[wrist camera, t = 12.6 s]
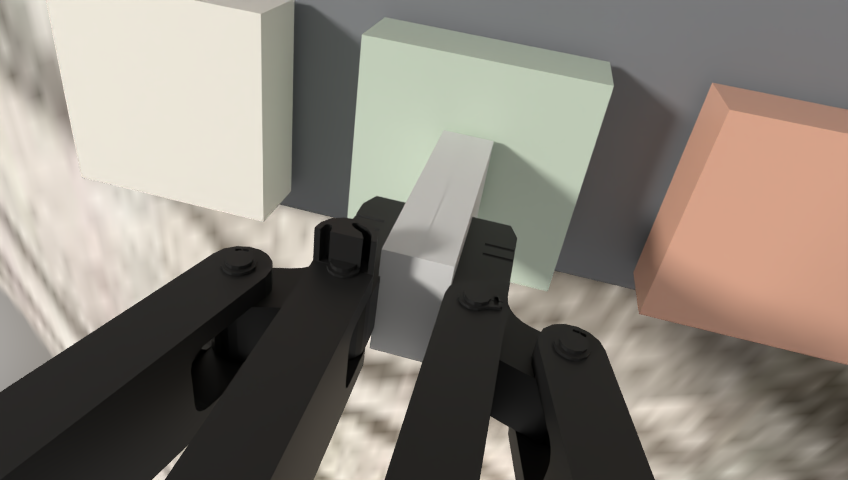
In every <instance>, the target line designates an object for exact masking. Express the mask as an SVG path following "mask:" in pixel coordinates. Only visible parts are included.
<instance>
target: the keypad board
mask: <svg viewBox="0 0 848 480" xmlns="http://www.w3.org/2000/svg"><path fill="white" fill-rule="evenodd" d="M385 17H387V18H392V19H397V20H402V21H407V22H412V23H417V24H422V25H427V26H432V27H437V28H442V29H447V30H452V31H457V32H462V33H467V34H472V35H477V36H482V37H487V38H492V39H497V40H502V41H507V42H512V43H517V44H522V45H527V46H532V47H537V48H542V49H547V50H552V51H557V52H562V53H567V54H572V55H577V56H582V57H587V58H592V59H597V60H602V61H607V62H610V66H611V72H612V77H613V83H614V87H613V90H612V94H611V97H610V100H609V103H608V106H607V109H606V112H605V115H604V118H603V121H602V124H601V128H600V131H599V134H598V137H597V140H596V143H595V146H594V149H593V152H592V155H591V159H590V162H589V165H588V168H587V171H586V174H585V177H584V180H583V183H582V186H581V189H580V193H579V196H578V199H577V202H576V205H575V208H574V211H573V214H572V217H571V220H570V224H569V227H568V230H567V233H566V236H565V239H564V242H563V245H562V248H561V251H560V254H559V258H558V261H557V264H556V267H555V271H559V272H563V273H567V274H572V275H576V276H580V277H584V278H588V279H592V280H597V281H601V282H605V283H609V284H613V285H617V286H622V287H626V288H630V289H634V290H636V288H635V281H634V274H633V272H634V270H635V267H636V265H637V262H638V260H639V258H640V255H641V253H642V250H643V248H644V246H645V243H646V241H647V238H648V236H649V234H650V231H651V229H652V226H653V224H654V222H655V219H656V217H657V214H658V212H659V210H660V207H661V205H662V202H663V200H664V197H665V195H666V193H667V190H668V188H669V185H670V183H671V181H672V178H673V176H674V173H675V171H676V169H677V166H678V164H679V161H680V159H681V157H682V154H683V152H684V149H685V147H686V145H687V142H688V140H689V137H690V135H691V133H692V130H693V128H694V125H695V123H696V120H697V118H698V116H699V113H700V111H701V108H702V106H703V104H704V101H705V99H706V96H707V94H708V92H709V89H710V87H711V84H712V83H717V84H722V85H727V86H732V87H737V88H742V89H747V90H752V91H757V92H762V93H767V94H772V95H777V96H782V97H787V98H792V99H797V100H802V101H807V102H812V103H817V104H822V105H827V106H832V107H837V108H842V109H847V110H848V0H294V54H293V112H292V171H291V192H290V193H289V194H288V195H287V196H286V197H285V199H284V200H283V201H282V202H281V203H280V205H284V206H289V207H293V208H297V209H301V210H305V211H309V212H314V213H318V214H322V215H326V216H330V217H334V218H343V217H344V218H347V216H348V203H349V191H350V178H351V165H352V153H353V140H354V127H355V115H356V102H357V89H358V77H359V64H360V51H361V39H362V34H363V33H365V32H366V31H367V30H369V29H370V28H371V27H373V26H374V25H375V24H377V23H378V22H379V21H381V20H382V19H383V18H385Z"/></svg>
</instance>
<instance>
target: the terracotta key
mask: <svg viewBox="0 0 848 480" xmlns="http://www.w3.org/2000/svg"><path fill="white" fill-rule="evenodd" d="M633 274H634V281H635V288H636V295H637V303H638V310H639V314H642V315H646V316H650V317H654V318H658V319H662V320H666V321H670V322H674V323H678V324H682V325H687V326H691V327H695V328H699V329H703V330H707V331H711V332H715V333H719V334H723V335H727V336H732V337H736V338H740V339H744V340H748V341H752V342H756V343H760V344H764V345H768V346H772V347H777V348H781V349H785V350H789V351H793V352H797V353H801V354H805V355H809V356H813V357H817V358H822V359H826V360H830V361H834V362H838V363H842V364H846V365H848V110H847V109H842V108H837V107H832V106H827V105H822V104H817V103H812V102H807V101H802V100H797V99H792V98H787V97H782V96H777V95H772V94H767V93H762V92H757V91H752V90H747V89H742V88H737V87H732V86H727V85H722V84H717V83H712V84H711V87H710V89H709V92H708V94H707V96H706V99H705V101H704V104H703V106H702V108H701V111H700V113H699V116H698V118H697V120H696V123H695V125H694V128H693V130H692V133H691V135H690V137H689V140H688V142H687V145H686V147H685V149H684V152H683V154H682V157H681V159H680V161H679V164H678V166H677V169H676V171H675V173H674V176H673V178H672V181H671V183H670V185H669V188H668V190H667V193H666V195H665V197H664V200H663V202H662V205H661V207H660V210H659V212H658V214H657V217H656V219H655V222H654V224H653V226H652V229H651V231H650V234H649V236H648V238H647V241H646V243H645V246H644V248H643V250H642V253H641V255H640V258H639V260H638V262H637V265H636V267H635V270H634V272H633Z"/></svg>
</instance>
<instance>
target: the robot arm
mask: <svg viewBox="0 0 848 480" xmlns="http://www.w3.org/2000/svg"><path fill="white" fill-rule="evenodd" d="M493 143H494V141H491V140H487V139H482V138H477V137H473V136H468V135H464V134H459V133H455V132H450V131H445V130H443V132H442V134H441V136H440V138H439V140H438V142H437V144H436V146H435V148H434V150H433V151H432V153H431V155H430V157H429V159H428V161H427V163H426V165H425V167H424V169H423V171H422V173H421V175H420V176H419V178H418V180H417V182H416V184H415V186H414V188H413V190H412V192H411V194H410V196H409V198H408V199H407V201H406V203H405V202H401V201H397V200H392V199H388V198H384V197H379V196H375V197H374V198H372V199H370V200H368V201H366V202H365V203H363V204H362V206H361V207H360V209H359V210H358V212H357V213H356V216H354V218H353V219H352V218H344V217H343V218H331V219H329V220H326V221H323V222H321V223H320V224H318V225H317V226H316V227H315V231H314V254H313V261H312V263H311V264H310V266H309V267H305V268H272V260H271V259H270V257H269V255H267V254H266V253H264V252H263V251H261V250H259V249H255V248H252V247H241V246H236V247H230V248H225V249H222V250H220V251H218V252H216V253H213V254H212V255H210V256H209V257H207V258H206V259H204V260H203V261H201V262H200V263H198V264H197V265H195V266H193V267H192V268H190V269H189V270H187V271H186V272H184V273H183V274H181V275H180V276H178V277H177V278H175V279H173V280H172V281H170V282H169V283H167V284H166V285H164V286H163V287H161V288H160V289H158V290H157V291H155V292H153V293H152V294H150V295H149V296H147V297H146V298H144V299H143V300H141V301H140V302H138V303H137V304H135V305H133V306H132V307H130V308H129V309H127V310H126V311H124V312H123V313H121V314H120V315H118V316H117V317H115V318H113V319H112V320H110V321H109V322H107V323H106V324H104V325H103V326H101V327H100V328H98V329H97V330H95V331H93V332H92V333H90V334H89V335H87V336H86V337H84V338H83V339H81V340H80V341H78V342H77V343H75V344H73V345H72V346H70V347H69V348H67V349H66V350H64V351H63V352H61V353H60V354H58V355H57V356H55V357H53V358H52V359H50V360H49V361H47V362H46V363H44V364H43V365H41V366H40V367H38V368H37V369H35V370H34V371H32V372H31V373H29V374H27V375H26V376H24V377H23V378H21V379H20V380H18V381H17V382H15V383H13V384H12V385H11V386H9V387H7V388H6V389H4V390H3V391H2V392H0V480H152V479H153V478H154V477H155V476H156V475H157V474H158V473H159V472H160V471H161V470H162V469H164V468H165V467H166V466H167V465H168V464H169V463H170V462H171V461H172V460H173V459H174V458H175V457H176V456H177V455H178V454H179V453H180V452H181V451H182V450H183V449H184V448H185V447H186V446H187V448H186V449H185V451H184V452H183V454H182V455H181V457H180V458H179V459H178V461H177V462H176V464H175V465H174V467H173V468H172V470H171V471H170V473H169V474H168V476H167V477H166V479H165V480H314V477H315V475H316V473H317V470H318V468H319V466H320V463H321V461H322V459H323V456H324V454H325V452H326V450H327V447H328V445H329V443H330V440H331V438H332V436H333V433H334V431H335V429H336V426H337V424H338V422H339V419H340V417H341V415H342V413H343V410H344V408H345V406H346V403H347V401H348V399H349V396H350V394H351V392H352V389H353V387H354V385H355V382H356V380H357V378H358V375H359V373H360V371H361V369H362V366H363V362H364V354H365V347H366V345H367V343H368V340H369V338H370V336H371V342H370V348H371V349H375V350H378V351H382V352H386V353H390V354H394V355H397V356H401V357H405V358H409V359H413V360H416V361H420V362H422V365H421V368H420V371H419V374H418V378H417V381H416V384H415V387H414V390H413V393H412V396H411V399H410V402H409V406H408V409H407V412H406V415H405V418H404V421H403V424H402V427H401V430H400V434H399V437H398V440H397V443H396V446H395V449H394V452H393V455H392V458H391V462H390V465H389V468H388V471H387V474H386V477H385V480H480V474H481V468H482V462H483V456H484V450H485V444H486V438H487V432H488V426H489V420H490V416H491V417H493V418H495V419H496V420H498V421H500V422H501V423H503V424H505V425H507V426H508V427H509V431H508V436H509V442H510V448H511V454H512V460H513V466H514V472H515V478H516V480H655V479H654V476H653V474H652V471H651V469H650V466H649V463H648V461H647V458H646V455H645V453H644V450H643V448H642V445H641V442H640V440H639V437H638V435H637V432H636V429H635V427H634V424H633V422H632V419H631V416H630V414H629V411H628V408H627V406H626V403H625V401H624V398H623V395H622V393H621V390H620V388H619V385H618V382H617V380H616V377H615V374H614V372H613V369H612V367H611V364H610V361H609V359H608V356H607V354H606V351H605V349H604V348H603V346H602V344H601V343H600V341H599V340H598V339H596V338H595V337H594V336H593V335H592V334H590V333H589V332H587V331H585V330H583V329H581V328H579V327H576V326H571V325H567V324H554V325H551V326H548V327H546V328H544V329H543V330H542V331H541V332H540V331H538V330H536V329H534V328H532V327H530V326H528V325H527V324H525V323H523V322H522V321H521V320H519V319H518V318H517V317H516V316H515V315H514V314H513V312H512V311H511V310H510V307H509V305H508V291H509V285H510V279H511V273H512V267H513V261H514V255H515V249H516V243H517V237H516V235H515V233H514V231H513V229H512V227H511V226H510V225H505V224H501V223H497V222H493V221H488V220H484V219H480V218H477V216H478V211H479V207H480V202H481V198H482V193H483V189H484V184H485V179H486V175H487V170H488V166H489V161H490V157H491V152H492V148H493Z"/></svg>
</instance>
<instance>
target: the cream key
mask: <svg viewBox="0 0 848 480" xmlns="http://www.w3.org/2000/svg"><path fill="white" fill-rule="evenodd" d="M46 4H47V9H48V14H49V19H50V24H51V29H52V34H53V39H54V43H55V48H56V53H57V58H58V63H59V68H60V73H61V78H62V83H63V88H64V93H65V98H66V103H67V108H68V113H69V118H70V123H71V128H72V133H73V138H74V143H75V147H76V152H77V157H78V162H79V167H80V172H81V177H82V178H86V179H90V180H94V181H98V182H102V183H106V184H110V185H114V186H119V187H123V188H127V189H131V190H135V191H139V192H143V193H147V194H151V195H155V196H159V197H164V198H168V199H172V200H176V201H180V202H184V203H188V204H192V205H196V206H200V207H204V208H209V209H213V210H217V211H221V212H225V213H229V214H233V215H237V216H241V217H245V218H250V219H254V220H258V221H262V222H264V221H265V220H266V218H267V217H268V216H269V215H270V214H271V213H272V212H273V211H274V210H275V209H276V207H277V206H278V205H279V204H280V203H281V202H282V201H283V200H284V199H285V197H286V196H287V195H288V194H289V193H290V192H291V171H292V112H293V54H294V0H46Z"/></svg>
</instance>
